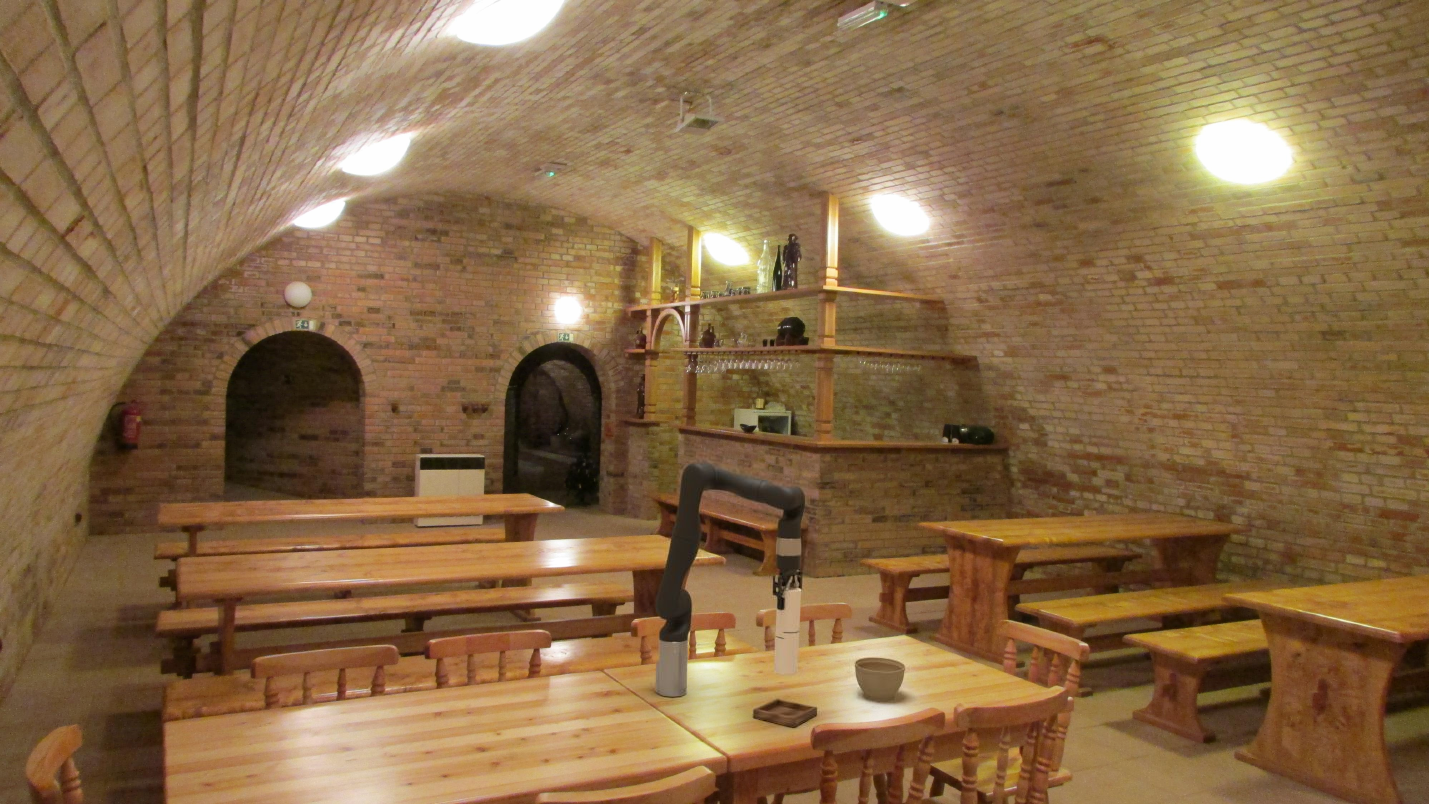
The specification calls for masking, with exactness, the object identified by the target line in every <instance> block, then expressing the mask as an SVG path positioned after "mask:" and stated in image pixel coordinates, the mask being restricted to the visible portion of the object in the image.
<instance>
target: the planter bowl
mask: <svg viewBox="0 0 1429 804" xmlns="http://www.w3.org/2000/svg"><path fill="white" fill-rule="evenodd" d="M854 668H855V669H854V671H855V677H856V680H857V681H856V682H857V684H858V687H859V688H860V690H861V691H862V692H863V697H865V698H866V699H868V700H869V701H870V700H871V701H875V702H890V701H892V700H894V699H895V695H896V694H897V693H898V691H899V690H900V688H901V687H902V684H903V681H904V676H905V671H906V665H905V664H904V663H903V662H901V661H898V660H895V659H892V658H886V657H876V656H872V657H862V658H861V657H860V658H858V659H856V660H855V661H854Z"/></svg>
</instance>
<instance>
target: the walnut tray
mask: <svg viewBox="0 0 1429 804" xmlns="http://www.w3.org/2000/svg"><path fill="white" fill-rule="evenodd" d="M816 715H817V716H818V707H817V706H813V705H808V704H804V703H799V702H794V701H791V700H790V701H789V700H785V699H780V698H776V699H774V700H771V701H769V702H767V703H765V704H763V705H760V706H759V707H756V708H754V709H753V711H752V718H753V719H757V720H759V719H760V720H761V721H764V720H766V721H765V722H768V721H769V723H774V724H778V725H782V726H786V727H791V728H796V727H798V726H799V725H802V724H803V722H804V723H805V721H806V722H807V720H808V721H810V720H811V719H813V718H814V717H813V716H815V717H817V716H816ZM812 717H813V718H812ZM809 719H810V720H809ZM801 723H802V724H801Z"/></svg>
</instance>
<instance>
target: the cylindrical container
mask: <svg viewBox="0 0 1429 804" xmlns="http://www.w3.org/2000/svg"><path fill="white" fill-rule="evenodd" d="M782 592H783V590H782ZM801 599H802V590H801V589H800V588H794V587H789V589H788V591H785V608H784V610H778V609H777V608H776V609H775V610H776V614H775V634H774V635H775V636H774V638H775V639H774V658H773V672H774V673H775V674H777V675H779V676H780V675H781V676H795V675H797V674H798V672H799V671H798V669H799V648H800V626H801V625H800V624H801V606H802V604H801V603H802V600H801Z"/></svg>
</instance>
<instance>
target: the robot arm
mask: <svg viewBox="0 0 1429 804" xmlns="http://www.w3.org/2000/svg"><path fill="white" fill-rule="evenodd" d="M679 489H680V490H679V498H678V499H679V500H678V506H677V510H676V515H675V521H674V525H673V530H672V533H671V538H670V539H671V540H670V544H669V549H668V554H667V558H666V563H665V568H664V572H663V575H662V578H661V582H660V585H659V588H658V591H657V594H656V597H655V598H656V599H655V603H654V605H655V612H656V614H657V615H658V617H659V618H660V619H661V620H665V622H664V624H663V626H662V627H661V628H660V630H659V633H658V638H659V639H658V661H657V662H655V683H654V684H655V686H654V687H655V689H654V690H655V693H657V694H658V695H660V696H662V697H671V698H673V697H675V698H676V697H682V696H685V695H686V694H687V693H688V691H687V688H688V652H689V651H688V647H689V646H688V645H689V644H688V643H689V633H690V631H691V626H692V625H691V624H692V613H693V611H692V610H693V602H692V597H691V595H690V593H689V592H688V590H687V589H685V588H683V583H684V581H685V578H686V576H687V574H688V572H689V571H690V568H691V567H692V565H693V563H694V562H695V559H696V558H697V556H698V553H699V549H700V544H701V539H702V532H703V531H702V523H701V519H700V518H701V517H700V505H701V501H702V496H703V493H704V492H706V491H724V492H727V493H732V494H734V495H736V496H737V497H740V498H742V499H745V500H748V501H752V502H754V503H755V502H756V503H760V504H765V505H768V506H770V507H772V508H775V509H778V510H782V516H781V517H780V518H779V519H778V522H777V533H776V535H777V537H776V543H775V545H776V547H775V568H776V569H778V571H779V572H778V575H777V574H776V575H775V574H773V576H772V596H775V597H776V610H777V609H778V610H784V608H785V591H788V589H789V587H794V588H800V589H801V591H802V590H803V570H801V568H802V567H801V565H802V540H801V538H802V536H801V535H802V528H801V527H802V520H803V516H804V512H805V506H806V496H805V492H804V491H803V489H802V488H801V487H799V486H797V485H789V486H784V485H779V484H775V483H773V482H772V481H768V480H765V479H761V478H758V477H752V476H747V475H742V474H738V473H736V472H735V473H734V472H731V471H729V470H727V469H724V468H722V467H719V466H717V465H715V464H712V463H710V462H706V461H699V462H691V463H688V464H687V465H686V467H685V468H684V469H683V472H682V475H681V481H680V488H679ZM782 590H783V592H782Z"/></svg>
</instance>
